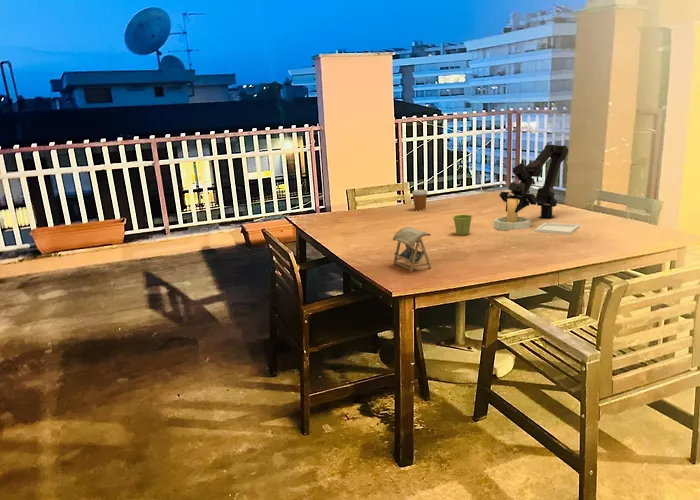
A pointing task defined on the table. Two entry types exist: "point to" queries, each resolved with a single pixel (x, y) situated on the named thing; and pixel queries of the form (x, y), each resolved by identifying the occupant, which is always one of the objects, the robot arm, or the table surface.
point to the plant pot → (462, 224)
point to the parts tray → (557, 228)
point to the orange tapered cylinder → (512, 210)
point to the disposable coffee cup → (419, 199)
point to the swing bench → (411, 247)
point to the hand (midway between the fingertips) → (510, 211)
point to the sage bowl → (511, 224)
